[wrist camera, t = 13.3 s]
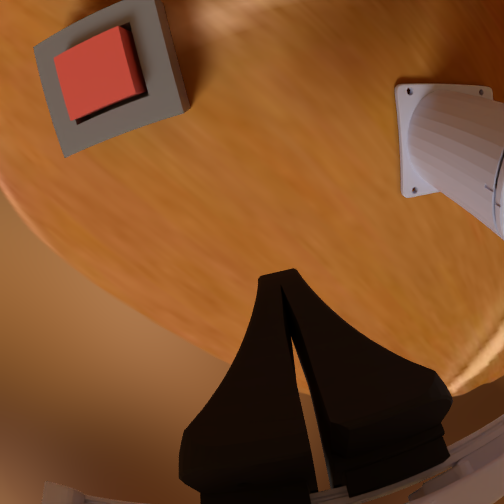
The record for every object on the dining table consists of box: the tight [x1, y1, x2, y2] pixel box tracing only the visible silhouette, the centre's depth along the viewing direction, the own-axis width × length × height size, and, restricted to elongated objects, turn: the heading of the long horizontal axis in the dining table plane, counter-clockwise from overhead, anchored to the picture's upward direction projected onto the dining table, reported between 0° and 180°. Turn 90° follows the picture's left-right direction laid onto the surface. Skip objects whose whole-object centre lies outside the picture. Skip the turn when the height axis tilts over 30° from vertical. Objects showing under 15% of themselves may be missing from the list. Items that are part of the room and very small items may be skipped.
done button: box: [54, 26, 148, 121], centre depth 12 cm, size 4×4×2 cm
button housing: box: [33, 0, 190, 158], centre depth 13 cm, size 7×7×3 cm
